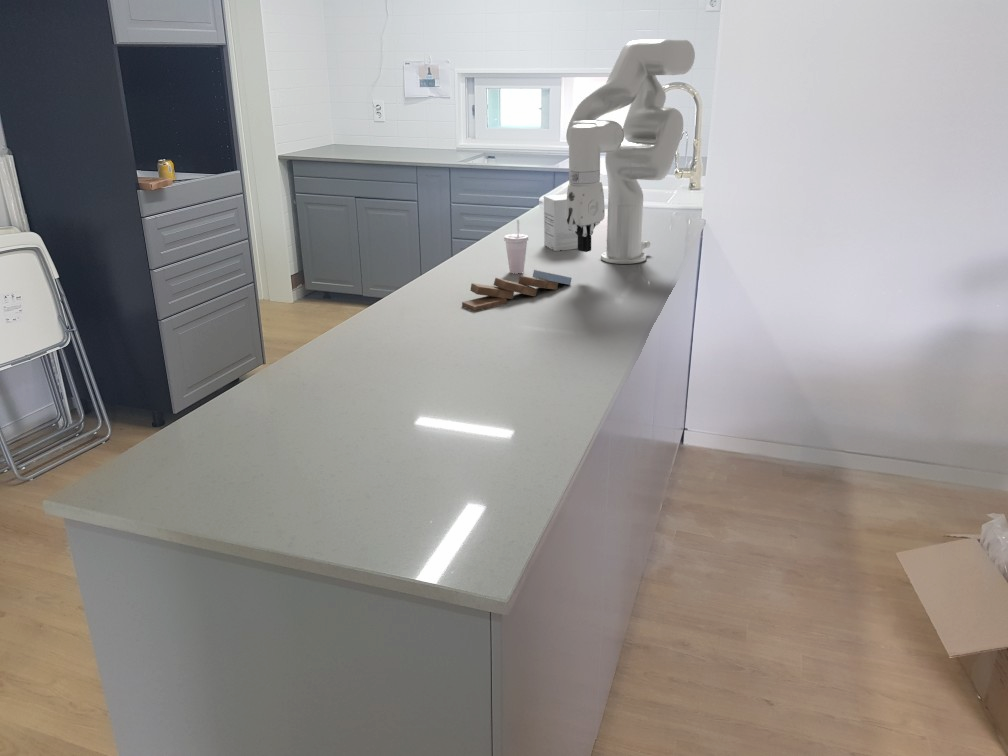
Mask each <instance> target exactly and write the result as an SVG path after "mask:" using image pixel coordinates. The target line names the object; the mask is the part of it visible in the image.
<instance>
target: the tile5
mask: <svg viewBox="0 0 1008 756" xmlns="http://www.w3.org/2000/svg"><path fill="white" fill-rule="evenodd" d="M506 304H507V298H501V297H493V296H482V297H478V298H473V299H469V300H466V301H461V307H462V308H465V309H467V310H470V311H472V312H479V310H480V311H483V309H484V310H486V309H490V308H495V307H499V306H504V305H506Z"/></svg>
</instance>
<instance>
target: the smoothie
mask: <svg viewBox="0 0 1008 756" xmlns="http://www.w3.org/2000/svg"><path fill="white" fill-rule="evenodd" d="M503 237H504V239H503V240H504V242H505V246H506V247H505V248H506V253H507V254H506V257H507V261H508V269H509V273H510V274H511V273H513V274H512V275H519V274H518V273H522V272H524V273H525V264H526V262H525V261H526V255H527V246H528V245H527V244H528V241H529V235H527V234H525V233H520V219H516V233H511V234H506V235H504V236H503ZM514 273H515V274H514ZM522 274H523V273H522Z"/></svg>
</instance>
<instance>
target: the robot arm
mask: <svg viewBox="0 0 1008 756" xmlns="http://www.w3.org/2000/svg"><path fill="white" fill-rule="evenodd" d="M695 55H696V52H695V49H694V45H693V44H692V42H691V41H690V40H688V39H664V38H662V39H637V40H635V39H634V40H631V41H628V43H625V45H624V46H623V47H622V49H621V51H620V53H619V54H618V57H617V59H616V60H615V62H614V66H613V67H612V70H611V72H610V74H609V75H608V78H607V80H606V82H605V83H604V84H603V85H602V86H600V87H599V88H596V89H595V90H594V91H592V92H591V93H590V94H589V95H587V96H586V97H584V99H583V100H582V101H580V103H578V105H577V107H576V108H575V110H574V112H573V114H572V116H571V118H570V120H569V122H568V126H567V128H566V134H565V139H566V143H567V145H568V185H567V191H566V192H567V193H566V194H567V199H566V221H567V223H568V224H569V228H568V230H569V231H575V233H576V235H578V249H577V251H578V252H583V253H587V252H591V251H592V236H593V234H594V229H595V227H597V226H598V225H600V223H601V222H603V220H604V219H605V215H606V214H605V213H606V212H605V211H606V210H605V192H604V186H603V182H602V181H601V176H600V175H601V153H605V159H604V161H605V162H604V163H605V169H606V175H607V176H606V177H607V217H606V218H607V219H606V221H607V223H606V224H607V225H606V250H605V252H601V254H600V259H601V261H603V262H607V263H610V264H616V265H618V264H621V265H632V264H633V265H634V264H638V263H639V264H640V263H643V262H644V261H646V260H647V254H646V253H644V252H643V251H644V249H648V248H650V246H651V242H650V241H649V240H646V241H643V240H642V235H643V233H642V232H643V217H644V216H643V215H644V213H643V212H644V192H643V189H642V187H641V185H640V183H639V182H638V180H641V181H644V180H645V181H661V180H663V179H665V178H667V176H668V174H669V173H670V170H671V167H672V165H673V162H674V159H675V157H676V154H677V151H678V149H679V145H680V142H681V140H682V136H683V132H684V118H683V115H682V113H681V111H680V110H678V109H676V108H673V107H667V106H665V103H666V100H667V99H666V97H667V95H666V92H665V89H664V87H663V85H662V84H661V83H660V81H659V80H658V78H657V76H679V75H681V76H682V75H685V74H687V73H688V72H690V70H691V69H692V67H693V66H694V62H695V59H696V58H695V57H696V56H695ZM629 105H630V107H629V109H628V112H627V115H626V117H625V120H624V123H623V126H622V125H621V124H620V123H619V122H616V121H615V120H605V119H604V120H603V119H602V120H601V119H600V120H599V118H600V117H602V116H604V115H606V114H610V113H611V112H615V111H618V110H620V109H622V108H625V107H627V106H629ZM664 106H665V107H664ZM624 139H625V140H626V141H625V140H624ZM581 227H582V228H581Z"/></svg>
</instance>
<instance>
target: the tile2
mask: <svg viewBox="0 0 1008 756" xmlns="http://www.w3.org/2000/svg"><path fill="white" fill-rule="evenodd" d="M517 283H520V284H524V285H528V286H530V287H533V288H540V289H547V290H554V291H555V290H556V289H557V290H558V286H559V283H558V282H553V281H548V280H543V279H539V278H534V277H532V276H531V277H530V276H522V275H519V277H518V281H517Z"/></svg>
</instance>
